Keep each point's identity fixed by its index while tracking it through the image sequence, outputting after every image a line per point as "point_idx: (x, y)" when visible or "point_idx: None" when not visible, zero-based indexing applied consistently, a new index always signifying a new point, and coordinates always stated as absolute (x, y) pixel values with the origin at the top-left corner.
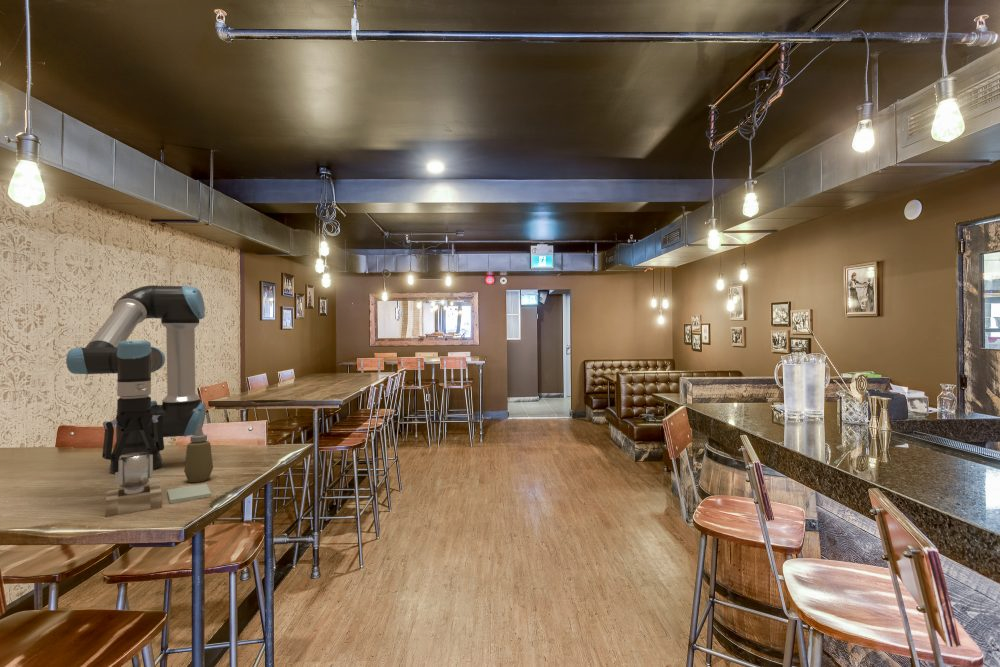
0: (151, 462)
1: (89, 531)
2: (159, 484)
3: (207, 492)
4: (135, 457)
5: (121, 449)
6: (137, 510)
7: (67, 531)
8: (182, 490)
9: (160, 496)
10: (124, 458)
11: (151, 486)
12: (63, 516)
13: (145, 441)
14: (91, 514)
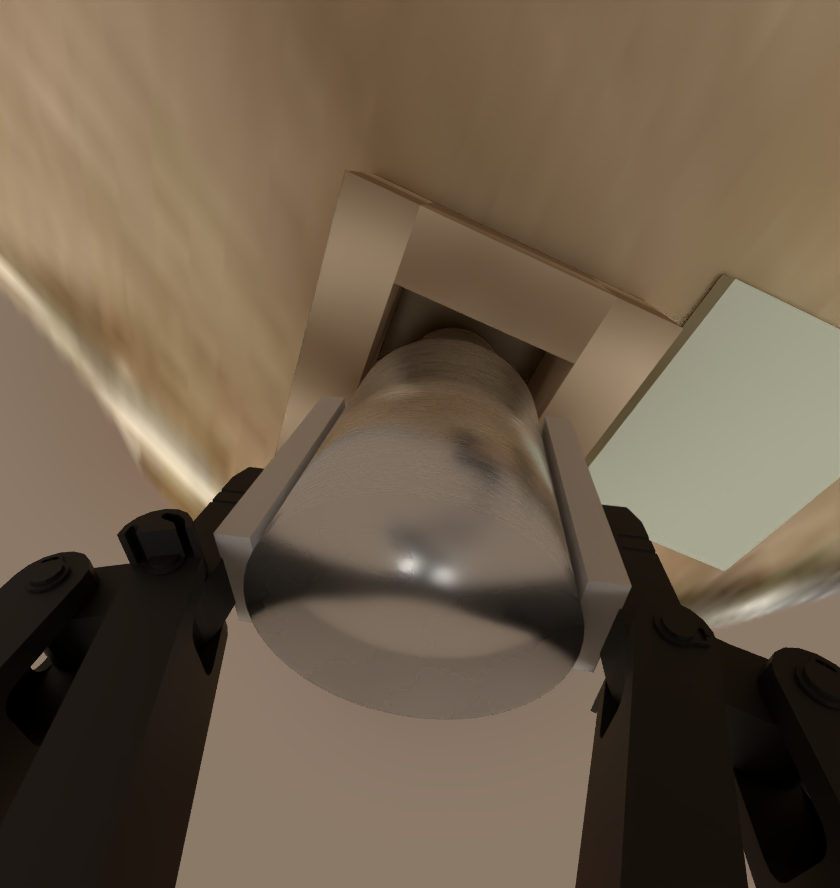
0: None
1: None
2: (629, 395)
3: (734, 548)
4: (368, 702)
5: (185, 764)
6: None
7: (172, 468)
8: (741, 397)
9: None
10: (279, 648)
11: (568, 396)
12: (150, 214)
13: (604, 878)
14: (266, 321)
